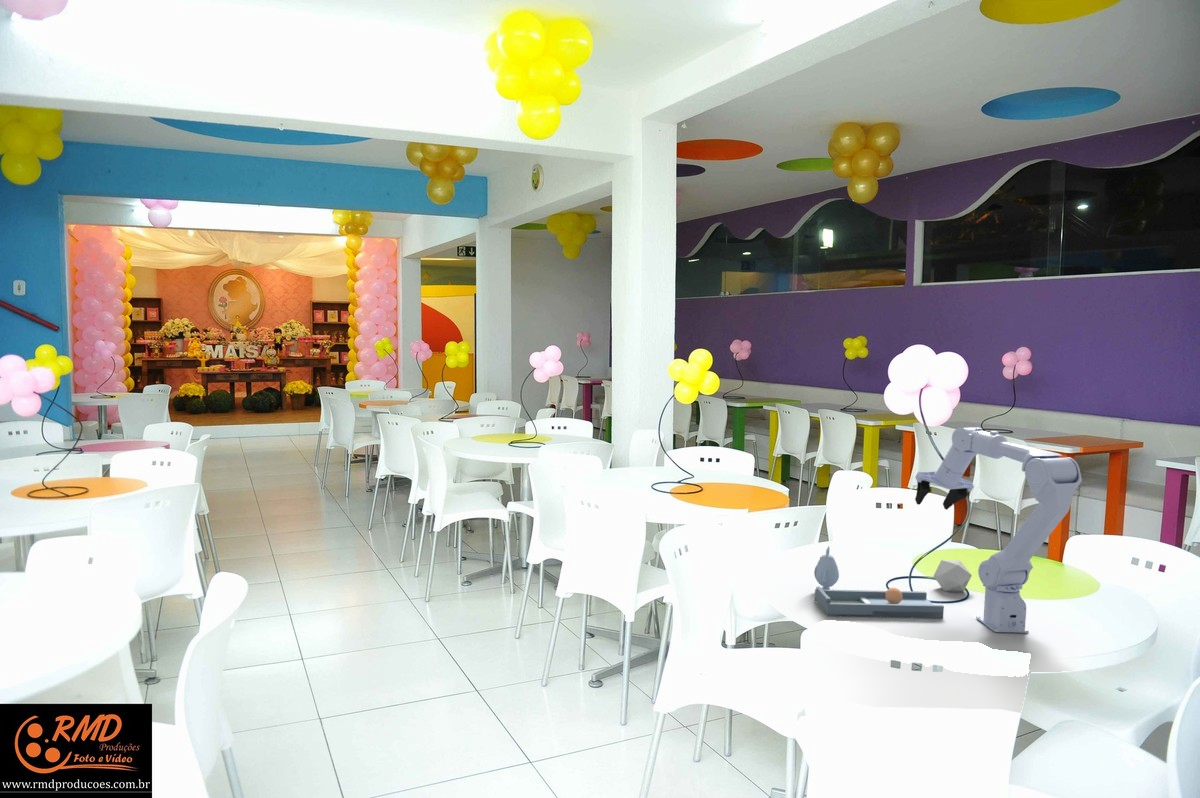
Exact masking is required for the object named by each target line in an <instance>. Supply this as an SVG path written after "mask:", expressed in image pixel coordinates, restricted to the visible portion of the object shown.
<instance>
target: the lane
mask: <svg viewBox="0 0 1200 798" xmlns="http://www.w3.org/2000/svg"><path fill="white" fill-rule="evenodd" d="M886 591H887V590H869V589H868V590H866V589H865V590H863V589H861V590H860V589H859V590H858V589H857V590H856V589H830V590H823V589H822V587H821V586H816V587H815V589H814V602H815V601H816V602H817V603H816V602H815V603H816V605H817V604H818V605H819V606H818V605H817V606H818V607H819V608H820V610H821V611H822V612H823V613H824V615H825V616H826V615H827V616H826V617H840V616H841V618H842V617H843V618H844V617H846V618H848V617H850V618H851V617H852V618H858V617H859V618H895V619H896V618H899V619H902V618H903V619H904V618H905V619H907V618H908V619H909V618H910V619H944V612H945V611H944V610H945V606H944V605H943V604H934V603H933V602H931V601H930V600H929V599H928V598H927V594H928V593H927V592H926V591H921V590H920V591H915V590H914V591H913V590H912V591H910V590H909V591H907V590H905V591H904V590H900V591H901V593H902V596H903V598H902V601H901V602H900V603H898V604H891V603H889V602H888V601H887V600H886V597H885V594H886ZM911 617H913V618H911Z"/></svg>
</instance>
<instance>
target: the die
mask: <svg viewBox="0 0 1200 798" xmlns="http://www.w3.org/2000/svg"><path fill="white" fill-rule="evenodd" d="M972 577H973V576H972V574H971V572H970V571H969V569H968V568H967V567H966V565H964V563H963V562H962V561H961V560H957V559H952V560H951V559H950V560H949V559H941V560H940V562H939V564H938V565H937V568H936V570H935V572H934V574H933V578H934V579H935V581H936V582H937V583H938V585H939V586H940V588H942V590H943V591H944V592H955V591H965V589H966V588H967V586H968V584H969V582H970V580H971V578H972Z"/></svg>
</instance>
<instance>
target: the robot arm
mask: <svg viewBox="0 0 1200 798" xmlns="http://www.w3.org/2000/svg"><path fill="white" fill-rule="evenodd" d="M999 433H1000V432H999V431H998V430H997V431H996V430H991V431H985V430H983V428H982V427H959V428H956V429H954V430H953V432H952V435H951V443H952V445H951V447H950V448H949V449H948V451H947V453H946V455H945V456H944V458H943V460H942V462H941V463H940V465H939V467H938V468H937V470H936V471H918V472H917V474H916V475H915V480H916V482H917V483H916V484H917V487H916V489H917V490H916V494H915V498H914V500H915V503H916V505H918V506H919V505H921V503H923V501H924V499H925V497H926V496H927V495H928V494H929V493H930V492H932V490H931V487H930V486H931V484H933V485H935V486H938V487H941V488H943V489H947V490H949V491H948V493H947V495H946V497H945V498H944V500H943V502H942V505H943V508H944V510H949V509H950V508H951V507H952V506H953V505H954V504H956V503H957V502H959V501H961V500H963V499H966V498H967V497H968V492H969V493H970V492H972V491H973V489H974V487H975V485H974V482H973V481H971V480H967V479H965V478H962V477H963V475H964V474H965V472H966V470H967V468H968V467H969V465H970V464H971V462H972V460H973V459H974V458H975V456H977V455H982V456H983V457H984V456H985V457H988V458H992V459H995V460H996V459H1001V458H1003V457H1005V458H1008V459H1011V460H1014V461H1016V462H1020V463H1022V465H1021V471H1022V472H1024V476H1025V478H1026V479H1025V480H1026V481H1027V484H1028V486H1029V488H1030V490H1031V493H1032V496H1033V497H1034V499H1035V501H1037V502H1038V504H1037V505H1036V506H1035V508H1034V509H1033V511H1032V512H1031V513H1030V514H1029V516H1028V517H1027V518H1026V520H1025V521H1024V522H1023V524H1022V525H1021V526H1020V527H1019V528H1018V531H1017V532H1016V533H1015V534H1014V536H1013V537H1012V538H1011V539H1010V541H1009V542H1008V544H1007V545H1005V547H1004V548H1003V549H1001V550H999V551H998V552H995V553H993V554H992V555H990V557H989V558H988V559H985V560H983V561H981V562H980V564H979V566H978V571H977V572H978V577H979V580H980V582H981V583H982V586H983V587H984V589H985V591H984V601H983V602H984V605H983V615H976V616H975V618H976V619H977V620H978V621H980V623H982V624H984V625H985V626H986V627H987V628H989V629H990V630H992V631H993V632H995V633H1022V634H1023V633H1024V634H1028V633H1029V632H1030V631H1029V629H1027V628H1026V619H1027V603H1026V602H1025V601H1024V600H1025V599H1023V598H1022V596H1021V594H1020V593H1021V590H1023V586H1024V585H1025V584H1026V583H1027V582H1028V580H1029V576H1030V572H1031V571H1032V569H1033V564H1032V561H1031V559H1032V558H1033V556H1034V555H1035V554H1036V553H1037V552H1038V551H1039V550H1040V548H1041V547H1042V546H1043V544H1044V542H1046V541H1047V539H1048V537H1050V535H1051V534H1052V533H1053V532H1054V530H1055V529H1056V528H1057V526H1059V524H1060V523H1061V521H1063V519H1064V518H1065V517H1066V515H1067V514H1068V513H1069V511H1070V509H1071V506H1072V505H1071V504H1072V502H1073V498H1074V495H1075V490H1076V489H1077V488H1078V487H1079V486H1080V484H1081V483H1082V482H1083V479H1082V474H1081V468H1080V466H1079V464H1078V462H1077V461H1076V460H1075V459H1074V458H1072V457H1068V456H1063V455H1062V454H1061V453H1057V452H1054V451H1049V450H1045V449H1041V448H1035V447H1031V446H1027V445H1022V444H1018V443H1012V442H1009V441H1008V438H1007V437H1005V436H1003V435H1001V434H999ZM944 460H945V461H944Z"/></svg>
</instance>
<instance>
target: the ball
mask: <svg viewBox="0 0 1200 798" xmlns="http://www.w3.org/2000/svg"><path fill="white" fill-rule="evenodd" d="M885 591H886V594H885V597H886V600H887V601H888V602H889V603H891V604H898V603H900V602H901V601H902V598H903V596H902V593H901V591H902V590H900V589H899V588H896V587H890V588H888V589H887V590H885Z"/></svg>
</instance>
